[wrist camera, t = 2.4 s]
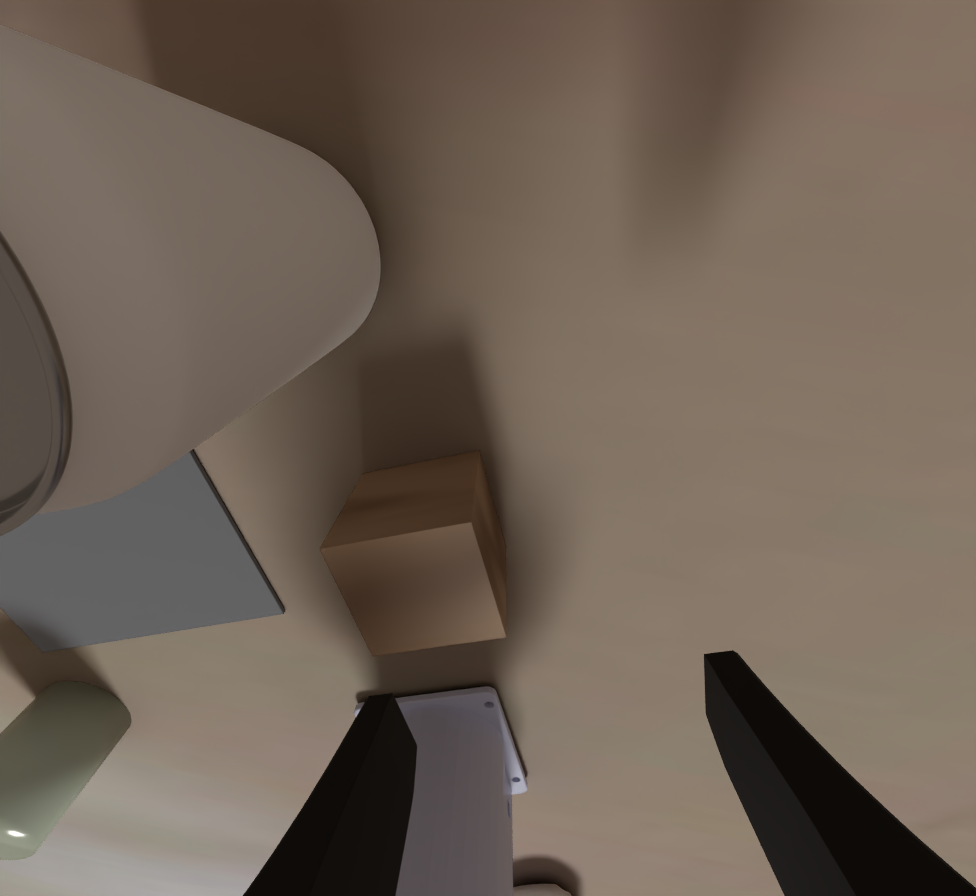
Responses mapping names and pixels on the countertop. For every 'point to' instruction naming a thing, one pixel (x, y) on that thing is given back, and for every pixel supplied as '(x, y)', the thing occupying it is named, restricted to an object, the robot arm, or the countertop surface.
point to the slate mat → (132, 565)
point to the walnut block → (421, 556)
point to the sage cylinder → (53, 759)
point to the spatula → (539, 890)
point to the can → (151, 275)
